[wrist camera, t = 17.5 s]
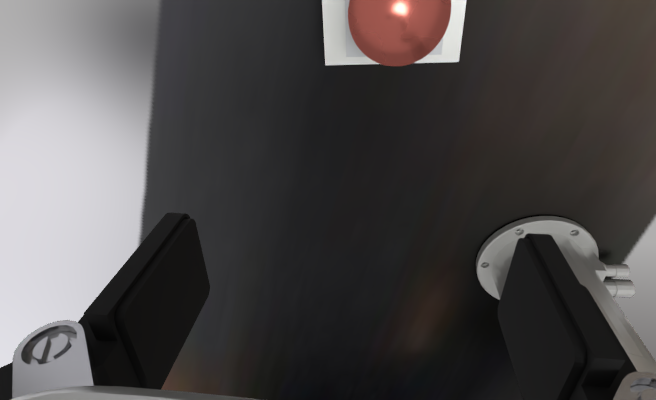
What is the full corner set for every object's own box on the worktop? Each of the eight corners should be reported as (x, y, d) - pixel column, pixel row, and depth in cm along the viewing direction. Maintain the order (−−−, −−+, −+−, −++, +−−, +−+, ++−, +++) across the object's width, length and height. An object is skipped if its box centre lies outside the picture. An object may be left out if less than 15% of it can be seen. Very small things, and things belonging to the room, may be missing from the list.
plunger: (440, -52, 25) (457, -49, 20) (432, 41, 28) (445, 64, 23) (351, -47, 26) (346, -43, 21) (353, 44, 29) (348, 67, 24)
